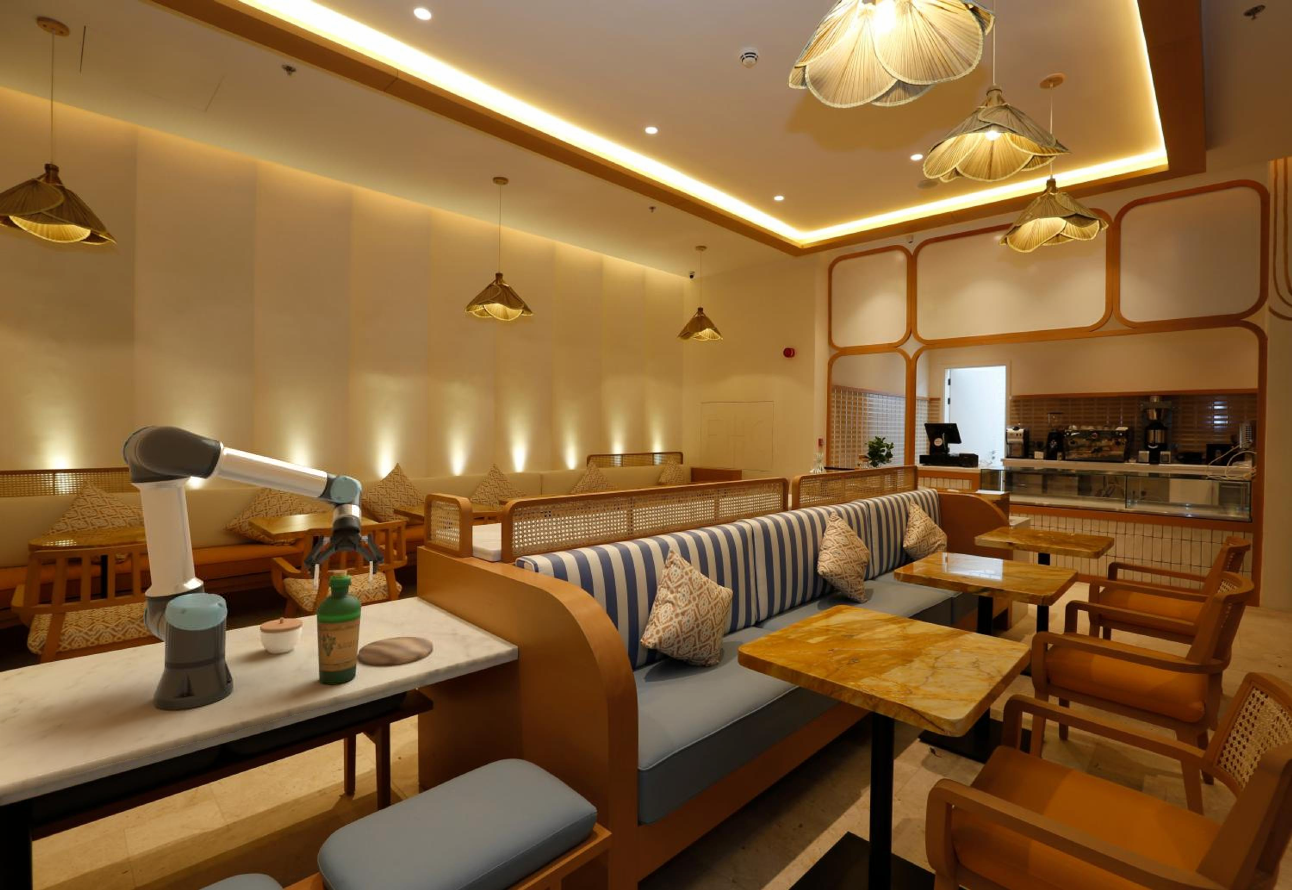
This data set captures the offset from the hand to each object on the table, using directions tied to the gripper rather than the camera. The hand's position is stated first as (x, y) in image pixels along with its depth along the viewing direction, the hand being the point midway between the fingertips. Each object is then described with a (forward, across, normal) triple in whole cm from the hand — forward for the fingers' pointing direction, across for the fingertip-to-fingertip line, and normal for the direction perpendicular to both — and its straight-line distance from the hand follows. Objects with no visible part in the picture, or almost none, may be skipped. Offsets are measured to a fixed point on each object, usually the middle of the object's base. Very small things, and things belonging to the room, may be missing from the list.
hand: (343, 585), depth 165 cm
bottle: (+23, 0, -9) cm, 24 cm away
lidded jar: (+2, +17, -30) cm, 34 cm away
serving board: (+12, -14, -20) cm, 27 cm away
